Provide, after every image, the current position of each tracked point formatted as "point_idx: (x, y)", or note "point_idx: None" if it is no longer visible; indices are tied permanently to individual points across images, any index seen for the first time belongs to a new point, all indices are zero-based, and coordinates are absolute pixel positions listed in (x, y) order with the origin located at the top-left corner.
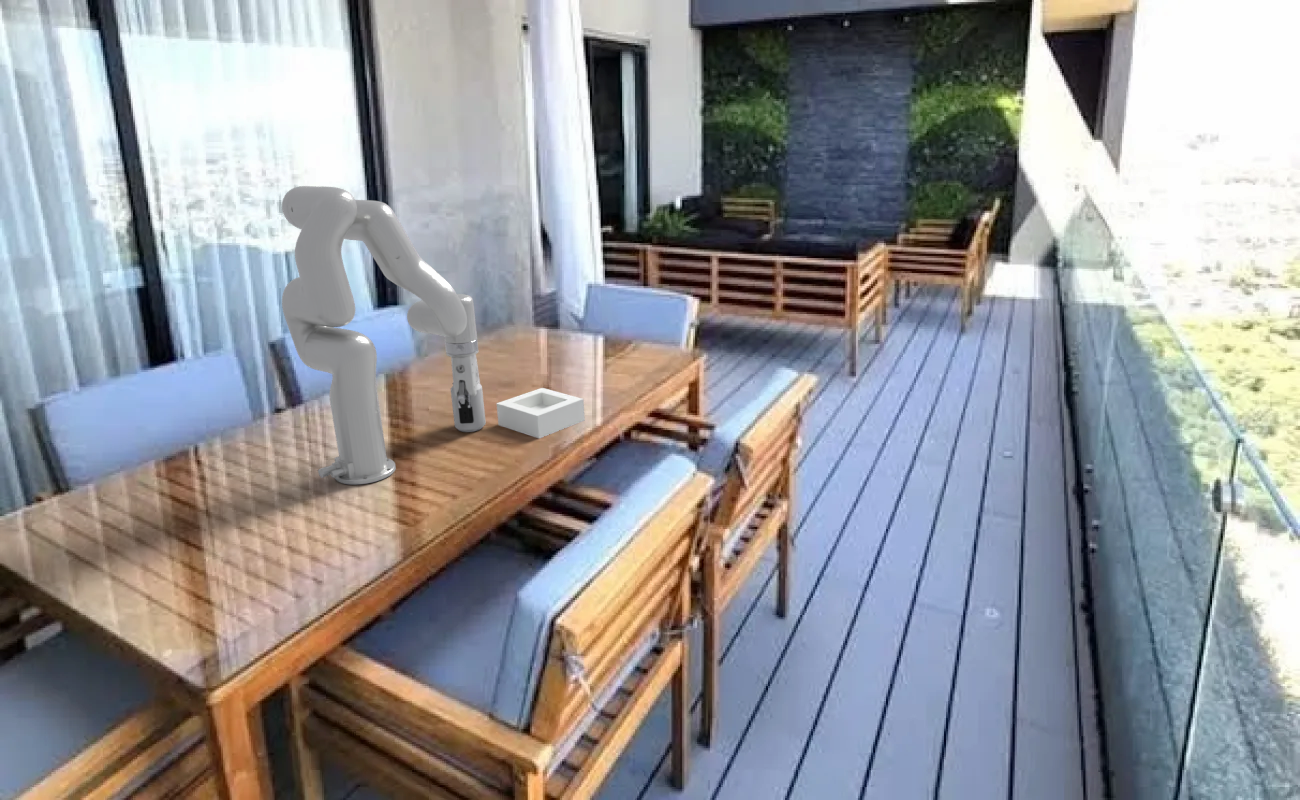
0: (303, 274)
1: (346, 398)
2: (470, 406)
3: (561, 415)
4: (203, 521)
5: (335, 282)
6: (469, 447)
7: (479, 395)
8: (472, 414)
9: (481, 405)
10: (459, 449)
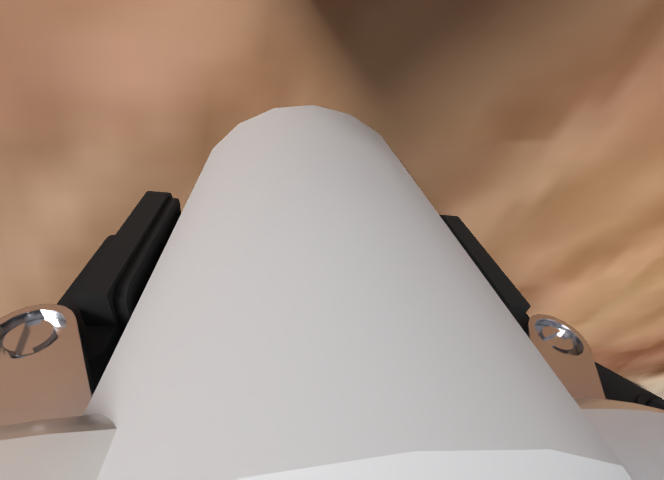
0: None
1: None
2: (532, 324)
3: None
4: None
5: None
6: (602, 195)
7: (515, 328)
8: (489, 255)
9: (416, 206)
10: (590, 236)
